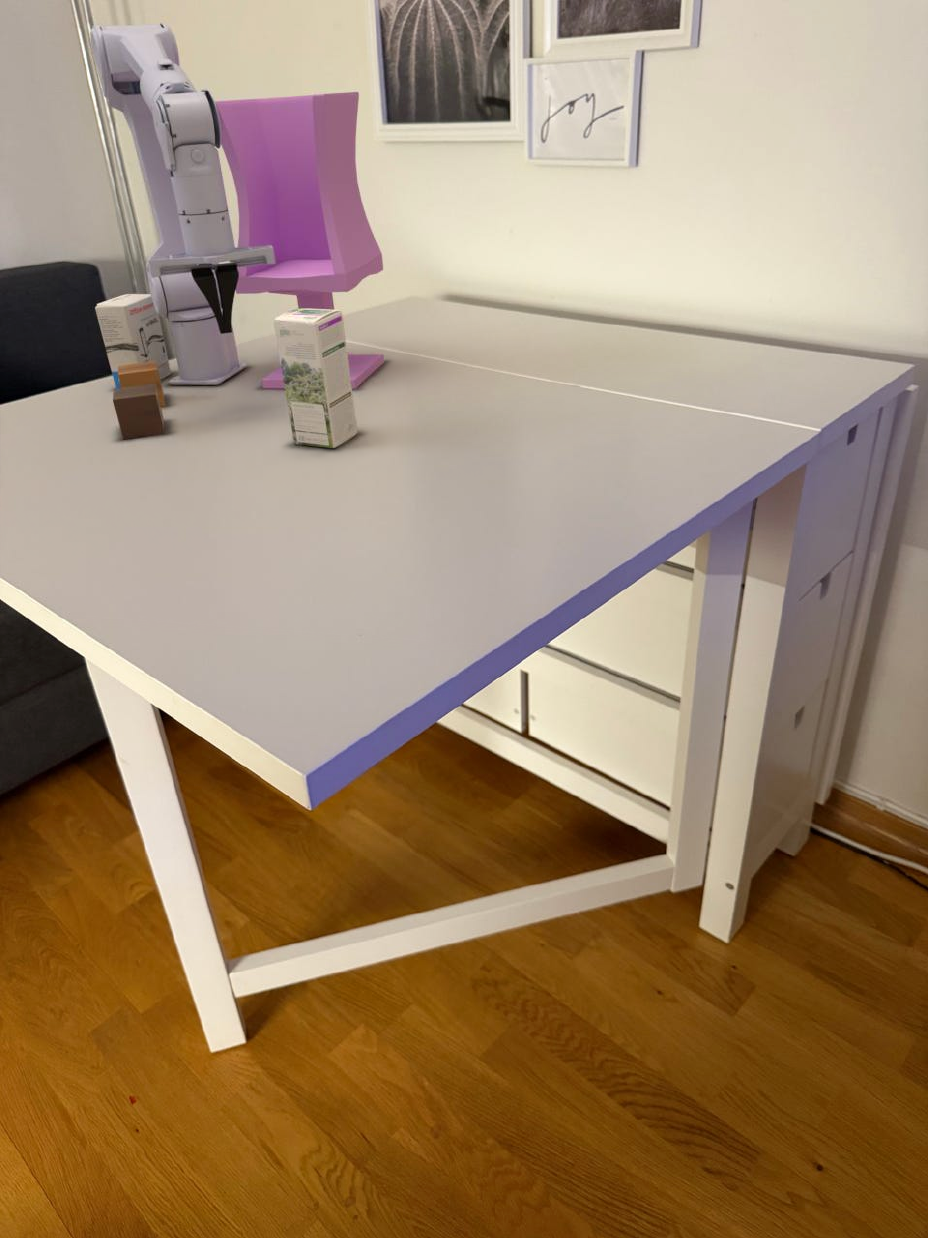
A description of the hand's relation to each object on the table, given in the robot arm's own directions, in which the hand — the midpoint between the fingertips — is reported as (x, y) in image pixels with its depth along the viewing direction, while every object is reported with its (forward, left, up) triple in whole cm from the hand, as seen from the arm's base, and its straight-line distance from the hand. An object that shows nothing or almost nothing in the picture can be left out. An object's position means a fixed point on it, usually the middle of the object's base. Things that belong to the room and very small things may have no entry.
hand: (225, 331), depth 111 cm
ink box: (-14, -22, -11) cm, 28 cm away
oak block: (-3, -16, -10) cm, 19 cm away
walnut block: (+7, -10, -10) cm, 16 cm away
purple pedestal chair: (-18, +5, -11) cm, 21 cm away
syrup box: (+9, +15, -11) cm, 20 cm away
